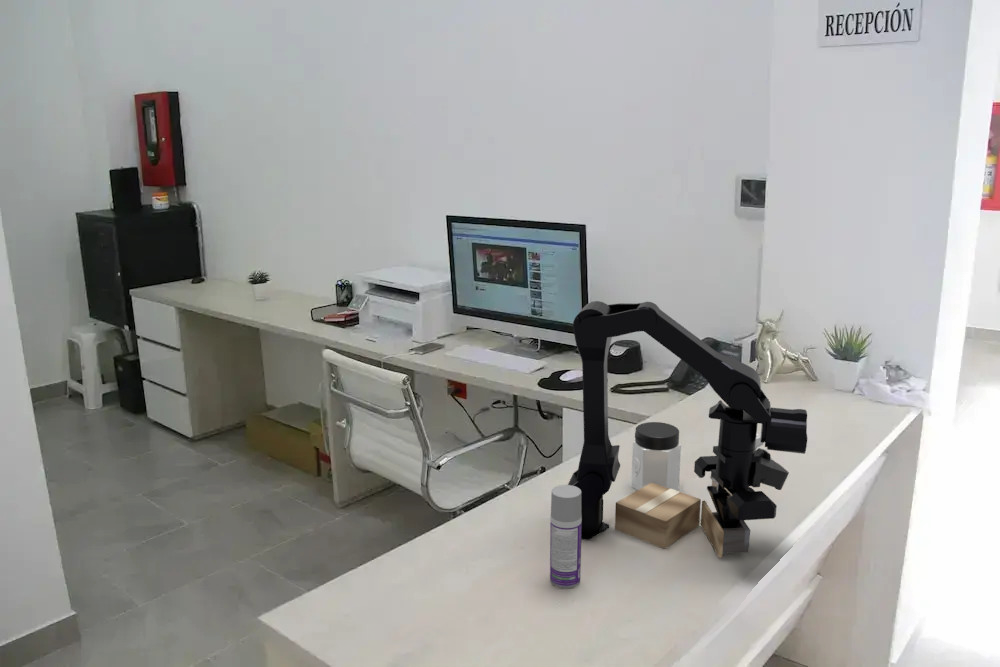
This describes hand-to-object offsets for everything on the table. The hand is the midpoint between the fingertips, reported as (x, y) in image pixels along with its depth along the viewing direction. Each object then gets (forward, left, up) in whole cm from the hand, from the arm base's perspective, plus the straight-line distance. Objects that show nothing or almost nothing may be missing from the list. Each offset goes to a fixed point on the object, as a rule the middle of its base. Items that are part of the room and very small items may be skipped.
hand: (728, 533), depth 137 cm
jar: (+11, +21, -3) cm, 24 cm away
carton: (-2, +12, -3) cm, 13 cm away
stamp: (+29, +11, -3) cm, 31 cm away
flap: (+1, +1, -2) cm, 3 cm away
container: (-26, +13, -3) cm, 29 cm away
